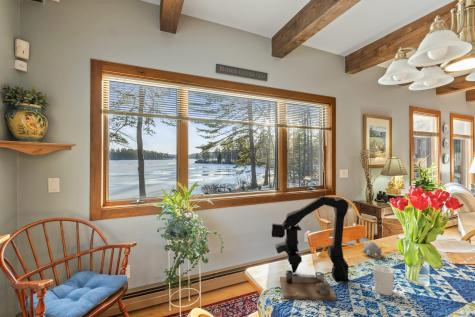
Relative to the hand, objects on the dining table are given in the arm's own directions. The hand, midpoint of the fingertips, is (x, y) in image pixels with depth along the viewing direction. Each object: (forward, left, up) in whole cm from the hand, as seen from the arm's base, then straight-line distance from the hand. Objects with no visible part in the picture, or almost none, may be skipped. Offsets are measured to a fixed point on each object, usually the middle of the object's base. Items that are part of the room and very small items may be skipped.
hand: (292, 268), depth 118 cm
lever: (-4, +10, -1) cm, 11 cm away
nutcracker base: (-4, +13, -3) cm, 14 cm away
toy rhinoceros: (-53, -26, -3) cm, 59 cm away
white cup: (-38, +13, -3) cm, 40 cm away
